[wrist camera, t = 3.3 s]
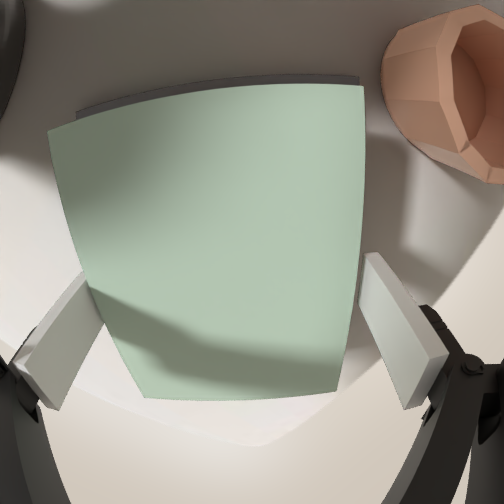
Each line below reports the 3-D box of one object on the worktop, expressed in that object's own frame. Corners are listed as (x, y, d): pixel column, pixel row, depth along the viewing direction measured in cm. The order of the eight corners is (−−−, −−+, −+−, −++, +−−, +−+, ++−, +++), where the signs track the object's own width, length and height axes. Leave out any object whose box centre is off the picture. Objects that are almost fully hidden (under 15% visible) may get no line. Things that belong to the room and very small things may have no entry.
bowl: (380, 153, 15) (436, 180, 10) (371, 12, 11) (423, -19, 6) (483, 162, 15) (541, 188, 10) (480, 44, 11) (540, 41, 6)
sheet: (148, 383, 17) (144, 397, 16) (62, 127, 10) (47, 131, 9) (332, 376, 17) (336, 391, 16) (352, 87, 9) (363, 86, 8)
